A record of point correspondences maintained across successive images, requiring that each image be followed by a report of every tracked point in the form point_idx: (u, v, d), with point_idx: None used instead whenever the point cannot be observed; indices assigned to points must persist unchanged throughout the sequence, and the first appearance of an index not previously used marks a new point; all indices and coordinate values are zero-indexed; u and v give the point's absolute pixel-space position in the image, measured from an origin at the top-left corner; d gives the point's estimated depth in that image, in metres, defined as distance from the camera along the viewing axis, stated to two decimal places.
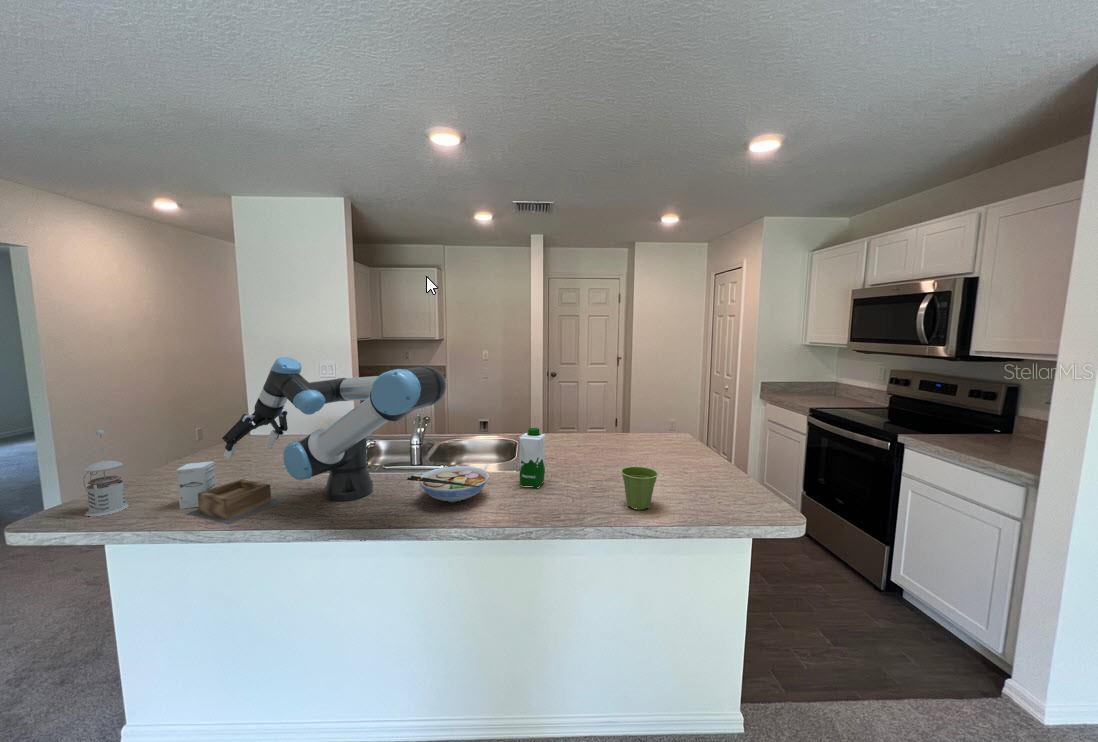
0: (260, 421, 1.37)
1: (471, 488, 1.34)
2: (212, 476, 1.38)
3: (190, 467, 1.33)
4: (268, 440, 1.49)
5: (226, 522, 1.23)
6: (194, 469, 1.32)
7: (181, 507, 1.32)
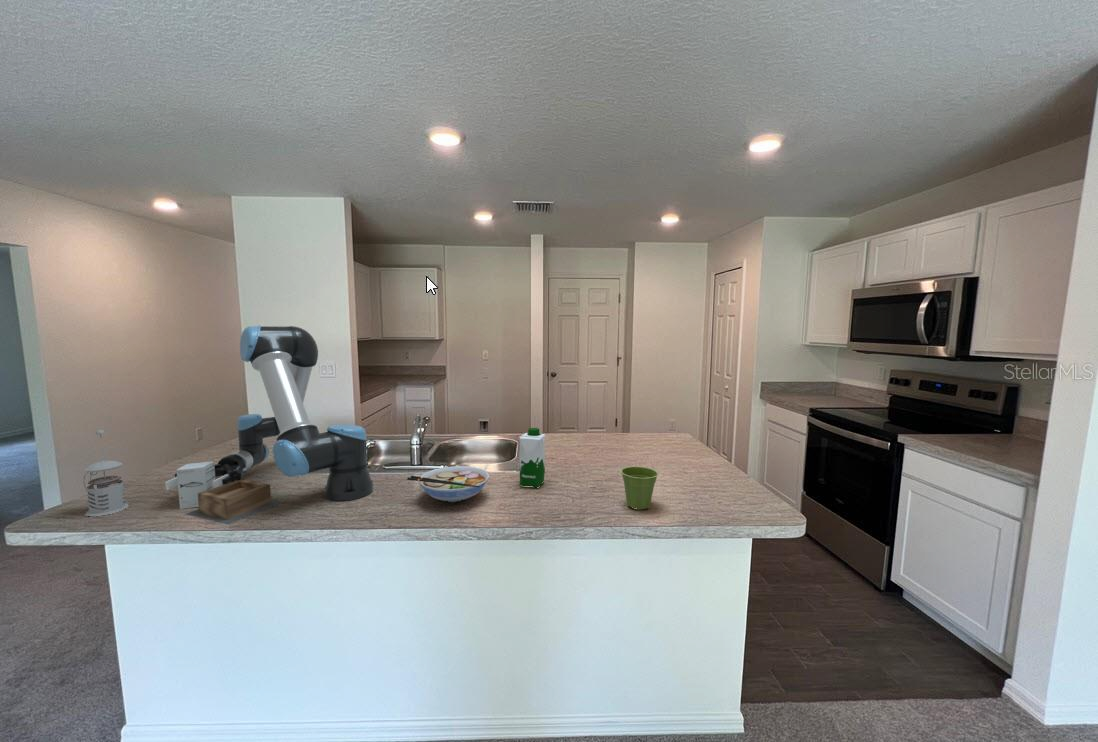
0: None
1: (471, 488, 1.34)
2: (212, 476, 1.38)
3: (190, 467, 1.33)
4: None
5: (226, 522, 1.23)
6: (194, 469, 1.32)
7: (181, 507, 1.32)
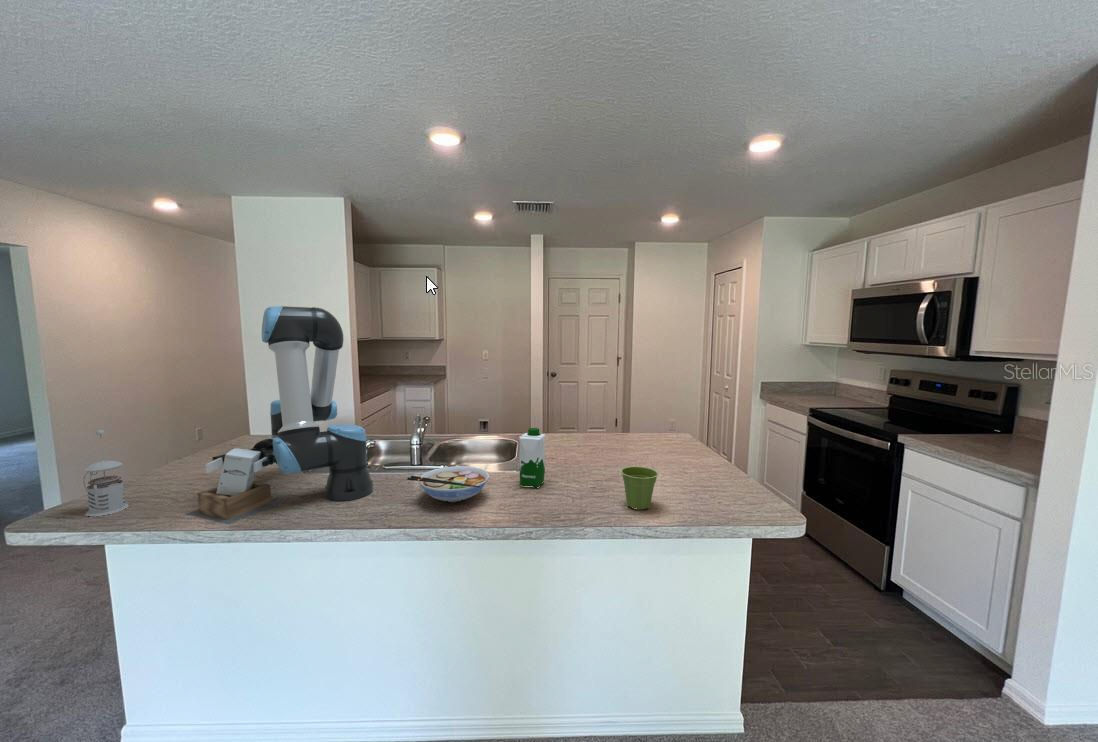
0: None
1: (471, 488, 1.34)
2: None
3: (239, 454, 1.30)
4: None
5: (226, 522, 1.23)
6: (243, 458, 1.29)
7: (218, 492, 1.29)
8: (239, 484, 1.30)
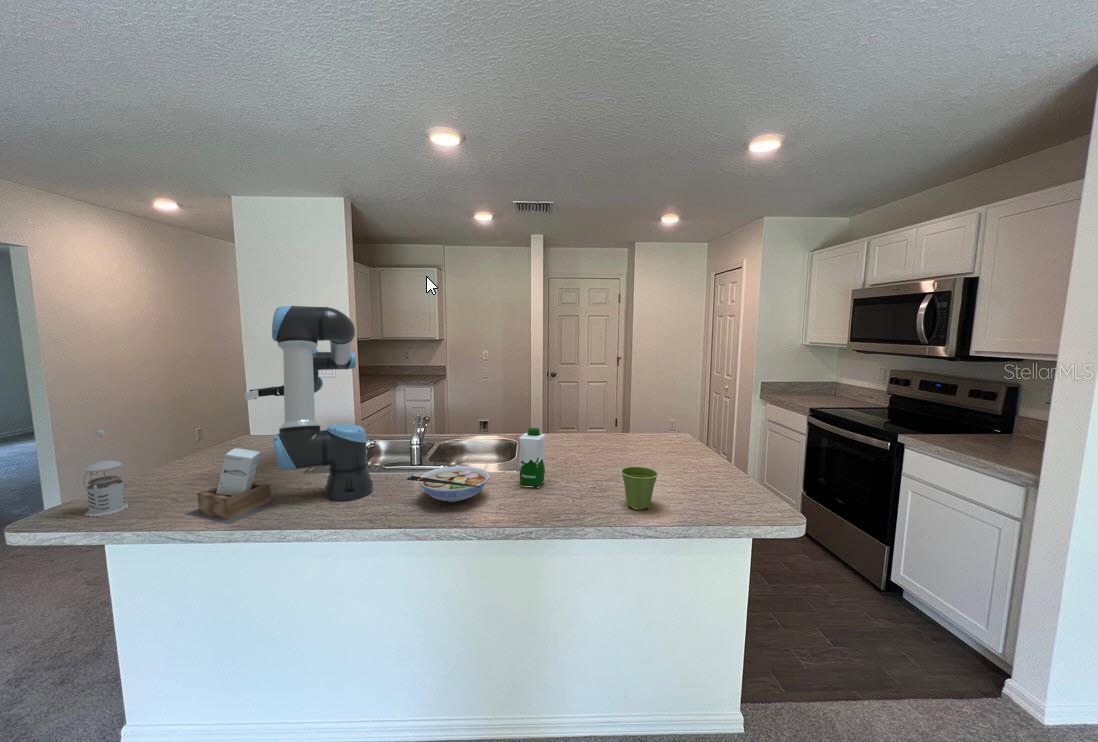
0: None
1: (471, 488, 1.34)
2: (255, 467, 1.35)
3: (239, 454, 1.30)
4: None
5: (226, 522, 1.23)
6: (243, 458, 1.29)
7: (218, 492, 1.29)
8: (239, 484, 1.30)
